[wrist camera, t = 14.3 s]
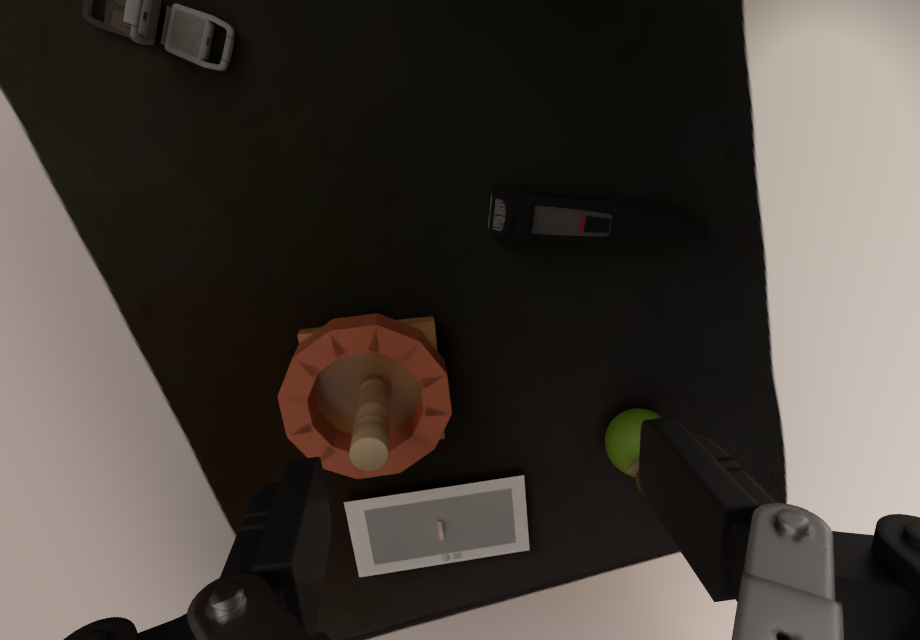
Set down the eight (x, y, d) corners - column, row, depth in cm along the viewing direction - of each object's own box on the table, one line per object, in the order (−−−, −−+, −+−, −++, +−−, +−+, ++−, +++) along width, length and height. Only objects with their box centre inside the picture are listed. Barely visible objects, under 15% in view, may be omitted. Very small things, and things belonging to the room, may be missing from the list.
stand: (299, 329, 41) (270, 390, 32) (433, 316, 42) (444, 371, 32) (320, 445, 44) (298, 532, 35) (443, 431, 45) (456, 512, 36)
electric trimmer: (684, 252, 43) (706, 261, 40) (486, 237, 40) (494, 246, 37) (695, 202, 41) (718, 208, 38) (492, 185, 39) (500, 189, 36)
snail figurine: (664, 451, 48) (745, 549, 37) (593, 455, 48) (653, 556, 36) (672, 394, 46) (760, 480, 35) (598, 398, 46) (664, 486, 35)
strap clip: (239, 26, 34) (218, 12, 30) (228, 76, 35) (206, 69, 31) (92, -32, 33) (50, -54, 29) (84, 22, 33) (42, 7, 29)
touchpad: (345, 494, 46) (342, 511, 44) (521, 467, 47) (526, 483, 45) (360, 567, 49) (358, 587, 47) (526, 541, 50) (532, 558, 48)
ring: (271, 326, 40) (263, 339, 37) (437, 305, 40) (440, 316, 38) (304, 468, 44) (298, 488, 41) (454, 446, 44) (457, 464, 42)
